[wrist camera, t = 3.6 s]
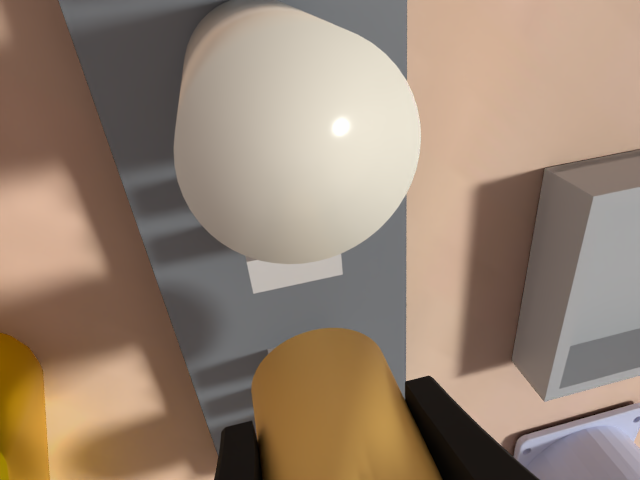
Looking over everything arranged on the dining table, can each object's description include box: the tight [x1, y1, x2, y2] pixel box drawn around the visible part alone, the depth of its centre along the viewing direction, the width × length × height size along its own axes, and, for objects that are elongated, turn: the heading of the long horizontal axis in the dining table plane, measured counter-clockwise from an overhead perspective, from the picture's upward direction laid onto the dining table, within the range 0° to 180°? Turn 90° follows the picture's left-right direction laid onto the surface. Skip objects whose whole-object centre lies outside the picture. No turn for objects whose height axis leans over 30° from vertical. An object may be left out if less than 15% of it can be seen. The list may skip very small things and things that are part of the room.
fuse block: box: [58, 0, 407, 456], centre depth 15 cm, size 20×8×4 cm, turn 6°
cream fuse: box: [174, 0, 421, 264], centre depth 9 cm, size 4×4×6 cm
